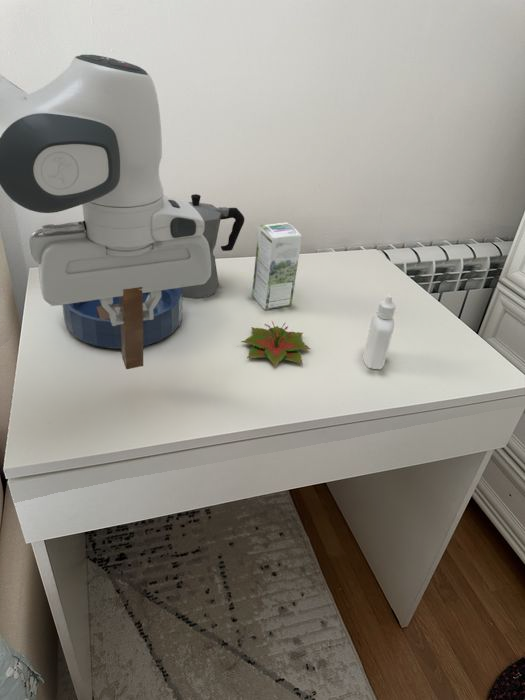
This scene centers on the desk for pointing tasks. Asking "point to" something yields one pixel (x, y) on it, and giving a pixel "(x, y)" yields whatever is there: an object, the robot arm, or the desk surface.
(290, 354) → the lily flower
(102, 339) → the bowl
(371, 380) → the desk surface
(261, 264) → the syrup box
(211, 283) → the coffeepot
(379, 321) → the eye dropper bottle
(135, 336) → the stick
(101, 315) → the block
